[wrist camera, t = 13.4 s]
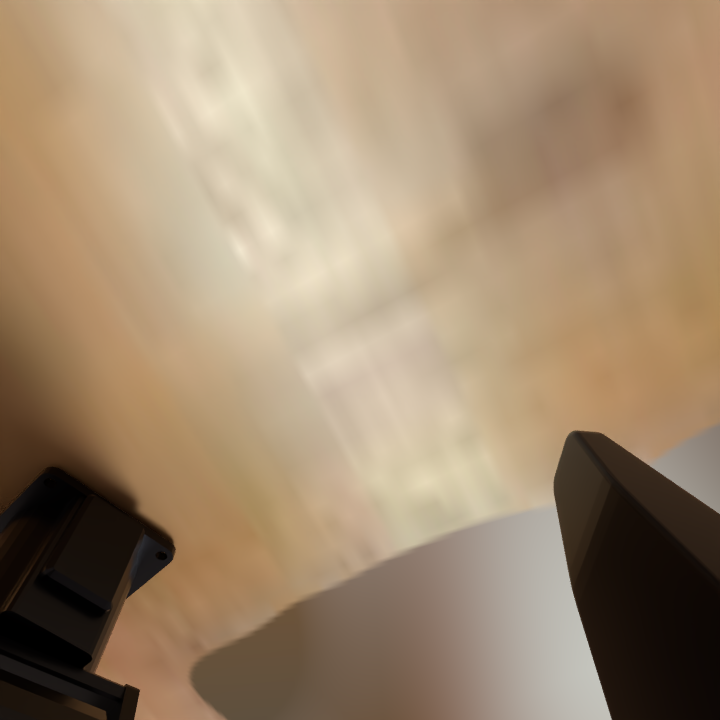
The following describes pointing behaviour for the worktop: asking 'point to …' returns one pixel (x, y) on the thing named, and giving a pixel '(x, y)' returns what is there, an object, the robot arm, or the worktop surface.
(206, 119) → the worktop surface
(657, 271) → the worktop surface
